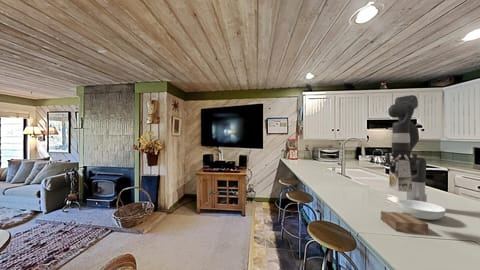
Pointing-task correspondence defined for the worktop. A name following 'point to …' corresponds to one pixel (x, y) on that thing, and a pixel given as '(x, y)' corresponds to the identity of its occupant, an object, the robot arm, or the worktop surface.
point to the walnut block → (404, 222)
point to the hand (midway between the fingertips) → (400, 173)
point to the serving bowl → (421, 209)
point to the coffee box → (402, 176)
